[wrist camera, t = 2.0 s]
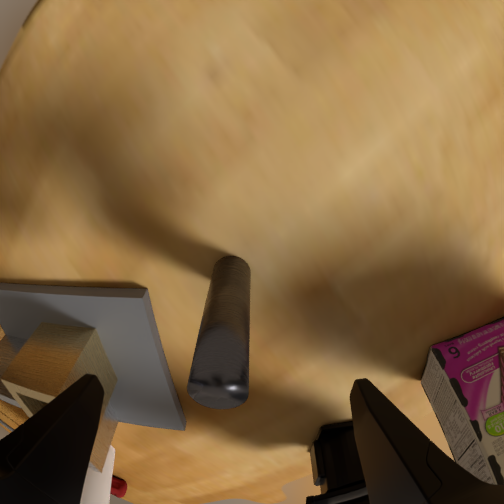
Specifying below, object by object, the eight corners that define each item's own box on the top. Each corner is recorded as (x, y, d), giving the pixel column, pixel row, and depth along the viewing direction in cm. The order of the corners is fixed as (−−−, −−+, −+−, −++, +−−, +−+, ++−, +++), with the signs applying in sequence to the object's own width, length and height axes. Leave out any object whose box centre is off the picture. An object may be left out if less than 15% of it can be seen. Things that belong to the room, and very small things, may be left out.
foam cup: (96, 423, 24) (63, 524, 12) (141, 462, 28) (123, 548, 16) (45, 417, 25) (11, 497, 14) (88, 456, 29) (66, 528, 17)
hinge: (95, 328, 17) (56, 397, 11) (140, 422, 21) (124, 479, 16) (-5, 314, 17) (-43, 359, 12) (46, 401, 22) (24, 444, 16)
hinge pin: (250, 255, 16) (247, 373, 8) (250, 288, 17) (249, 409, 9) (211, 256, 16) (182, 371, 8) (214, 288, 17) (192, 407, 9)
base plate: (147, 288, 17) (142, 298, 16) (186, 421, 23) (184, 430, 22) (-9, 282, 17) (-16, 288, 16) (52, 397, 23) (48, 404, 22)
